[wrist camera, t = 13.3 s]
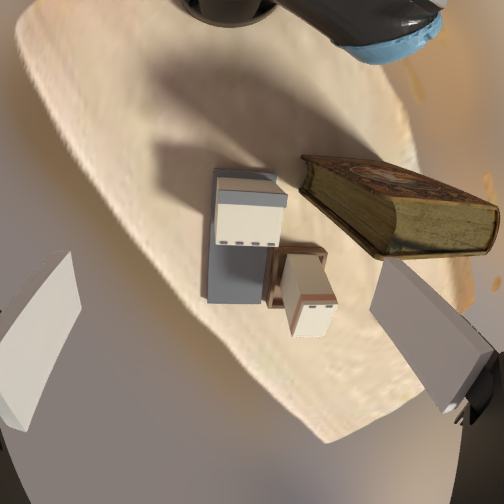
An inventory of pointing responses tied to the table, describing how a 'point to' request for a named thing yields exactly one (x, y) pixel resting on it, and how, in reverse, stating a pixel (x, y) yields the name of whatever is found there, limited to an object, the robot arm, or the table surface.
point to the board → (235, 257)
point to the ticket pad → (248, 212)
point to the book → (399, 209)
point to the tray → (277, 269)
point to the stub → (307, 296)
